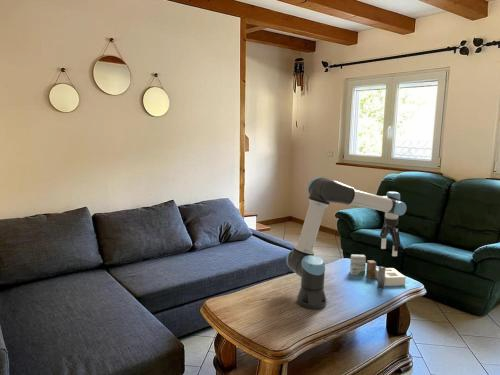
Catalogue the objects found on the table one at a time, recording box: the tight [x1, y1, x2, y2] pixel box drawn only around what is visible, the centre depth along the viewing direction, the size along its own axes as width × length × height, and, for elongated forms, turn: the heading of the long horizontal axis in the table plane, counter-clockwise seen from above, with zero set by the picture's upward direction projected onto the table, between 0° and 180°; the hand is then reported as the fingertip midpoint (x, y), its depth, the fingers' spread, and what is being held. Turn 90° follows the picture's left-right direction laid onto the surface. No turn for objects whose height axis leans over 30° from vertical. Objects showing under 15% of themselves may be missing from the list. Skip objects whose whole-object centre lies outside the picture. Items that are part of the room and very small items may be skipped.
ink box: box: [349, 254, 367, 276], centre depth 227 cm, size 9×5×12 cm, turn 84°
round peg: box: [376, 265, 386, 290], centre depth 207 cm, size 4×4×12 cm
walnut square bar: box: [365, 259, 377, 279], centre depth 222 cm, size 4×4×10 cm
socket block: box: [375, 267, 406, 287], centre depth 218 cm, size 12×14×5 cm
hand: (388, 252), depth 219 cm, fingers open, 13 cm apart
